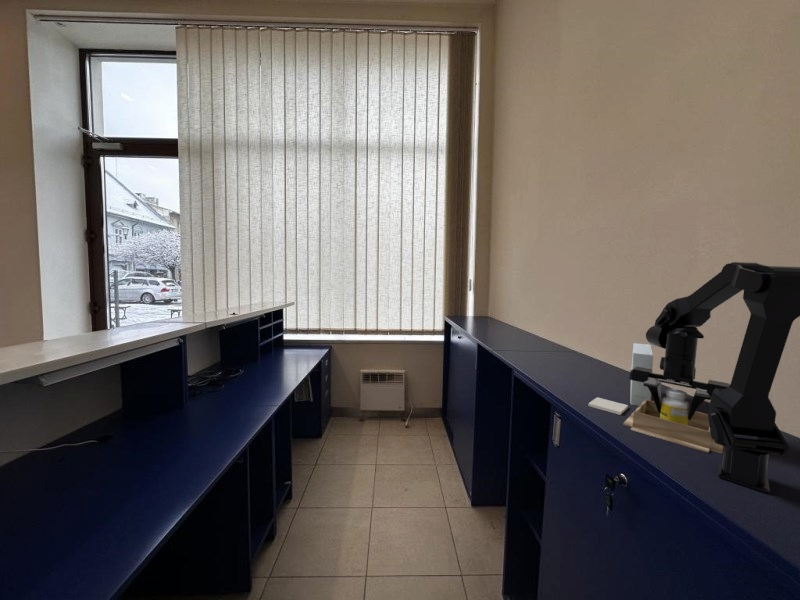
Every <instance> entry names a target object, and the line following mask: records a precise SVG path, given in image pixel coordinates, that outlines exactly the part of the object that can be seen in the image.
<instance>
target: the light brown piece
mask: <svg viewBox="0 0 800 600" xmlns="http://www.w3.org/2000/svg"><path fill="white" fill-rule="evenodd" d="M689 411H690V409H689ZM622 426H625V427H630V431H633V432H637V433H640V434H643V435H647V436H650V437H654V438H657V439H660V440H663V441H667V442H669V443H673V444H676V445H680V446H683V447H685V448H690V449H694V450H695V451H696V450H697V451H699V452H702V453H703V452H704V453H706V454H709V453H710V451H711V452H713V453H717V454H721V455H723V450H724V446H722V445H719V444H717V443H715V440H714V439H712V438H711V433H710V427H709V420H708V413H704V412H700V411H696V412H695V413H694V415H693V417H692V418H691V420H688V425H684V424H680V423H676V422H673V421H669V420H665V419H661V418H660V413H659V412H658V410H657V407H656V404H655V401H654V400H651V401H650V400H646V399H645V400H644V401H643V402H642V404H641V405H640V406H638V407H636V409H635V410H634V411H633V412H632V413H631V414H630V416H629V417H627V419H626V420H625V421H624V422H623V423H622Z"/></svg>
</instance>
